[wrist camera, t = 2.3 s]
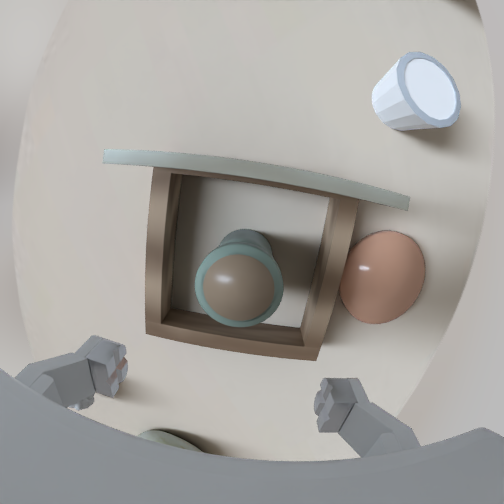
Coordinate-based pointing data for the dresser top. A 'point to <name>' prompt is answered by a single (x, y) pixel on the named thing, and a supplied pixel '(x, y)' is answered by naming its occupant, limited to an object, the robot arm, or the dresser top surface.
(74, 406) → the grey rock chunk
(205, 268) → the plant pot
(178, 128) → the dresser top surface
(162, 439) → the seashell
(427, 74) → the shot glass
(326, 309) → the frame
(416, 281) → the pink round part
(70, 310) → the dresser top surface
